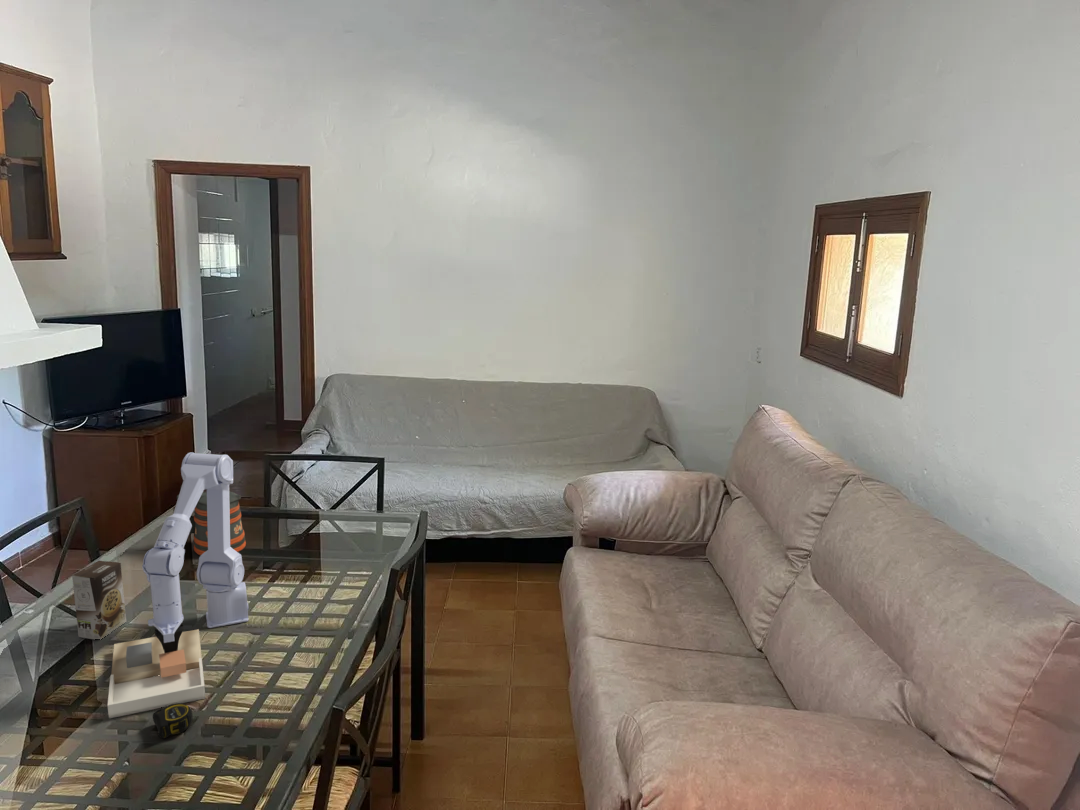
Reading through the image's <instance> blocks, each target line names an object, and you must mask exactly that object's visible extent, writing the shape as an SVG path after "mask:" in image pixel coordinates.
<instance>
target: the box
mask: <svg viewBox="0 0 1080 810" xmlns="http://www.w3.org/2000/svg"><path fill="white" fill-rule="evenodd" d="M203 666H204V665H203V658H199V667H200V668H196V669H191V670H186V673H182V674H177V675H172V676H168V677H163V678H161V675H160V676H155V677H150V678H145V679H140V680H134V681H129V682H124V683H119V684H115V682H114V674H113V675H111V674H110V676H109V686H108V696H107V697H108V698H107V713H108V719H113V718H117V717H119V718H120V717H123V716H128V715H132V714H138V713H142V712H147V711H152V710H157V709H162V708H165V707H166V706H168V705H171V704H176V703H182V704H186V703H190V702H195V701H200V700H205V699H206V691H205V690H206V689H205V688H206V687H205V678H204V677H205V676H204V668H203ZM161 707H162V708H161Z"/></svg>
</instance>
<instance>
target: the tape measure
mask: <svg viewBox="0 0 1080 810" xmlns="http://www.w3.org/2000/svg"><path fill="white" fill-rule="evenodd" d="M193 719H194V716H193V711H192V708H191V707H190V706H189V705H187V704H186V703H176V704H171V705H168V706H166V707H162V708H159V709H158V710H156V711H154V712H153V713H152V720H153V723H154V725H155V726H156V729H157V731H158V732H157V734H158V738H161V739H166V738H168V737H170V736H172V735H179V734H181V733H182V732H184V731H185V730H187V729H189V728H190V727H191V724H192V722H193Z"/></svg>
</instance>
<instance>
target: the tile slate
mask: <svg viewBox="0 0 1080 810" xmlns="http://www.w3.org/2000/svg"><path fill="white" fill-rule="evenodd" d="M152 654H153V652H152V642H150V643H145V644H139V645H133V646H128V647H127V651H126V662H127V668H131V667H136V666H141V665H147V664H152Z"/></svg>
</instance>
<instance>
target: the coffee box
mask: <svg viewBox="0 0 1080 810" xmlns="http://www.w3.org/2000/svg"><path fill="white" fill-rule="evenodd" d="M71 577H72V588H73V595H74V605H75V615H76V625H77V635H78V638H83V639H89V640H95V639H100V640H99V641H102V640H103V639H105V638H106V637H108V636H109V635H110V634H112V633H113V632H114V631H113V630H115V629H116V628H118V627H119V626H121V625H122V624H124V623H125V622H126V623H127V615H126V606H125V605H126V604H125V596H124V595H125V592H124V585H123V583H124V582H123V575H122V563H121V562H116V561H107V560H97V561H95V562H94V563H92V564H90V565H88V566H86V567H85V568H83V569H81V570H79V571H77V572H76V573H73V574H72V576H71ZM126 623H125V624H126ZM125 624H124V625H125ZM122 626H123V625H122ZM122 626H121V627H122ZM119 628H120V627H119ZM119 628H118V629H119ZM116 630H117V629H116ZM116 630H115V631H116ZM112 631H113V632H112ZM111 632H112V633H111ZM108 634H109V635H108ZM107 635H108V636H107ZM105 636H106V637H105ZM104 637H105V638H104ZM102 638H103V639H102ZM101 639H102V640H101Z"/></svg>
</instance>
